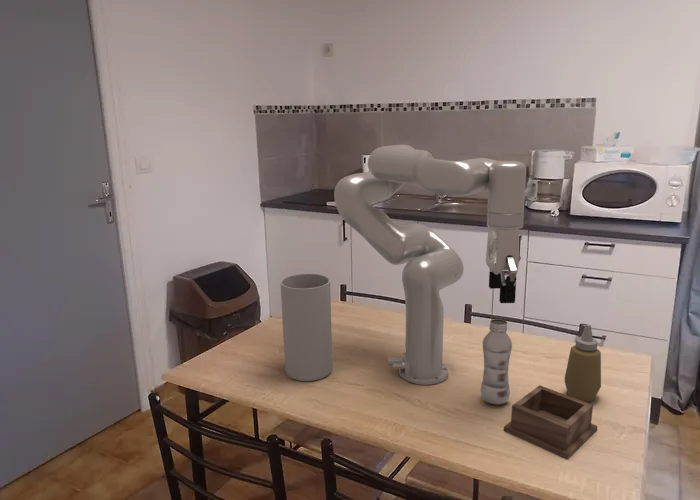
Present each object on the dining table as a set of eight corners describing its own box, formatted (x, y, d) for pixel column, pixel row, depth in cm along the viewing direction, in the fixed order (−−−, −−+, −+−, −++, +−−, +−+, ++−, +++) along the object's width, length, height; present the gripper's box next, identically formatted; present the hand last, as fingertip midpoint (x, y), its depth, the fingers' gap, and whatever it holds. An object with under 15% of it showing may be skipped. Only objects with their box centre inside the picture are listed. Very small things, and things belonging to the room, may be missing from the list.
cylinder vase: (342, 369, 145) (340, 280, 139) (307, 387, 136) (303, 292, 130) (310, 356, 154) (306, 270, 147) (275, 372, 145) (270, 282, 138)
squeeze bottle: (596, 408, 125) (604, 335, 120) (559, 399, 129) (566, 328, 125) (602, 393, 132) (609, 323, 127) (566, 384, 136) (573, 316, 131)
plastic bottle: (510, 409, 125) (515, 328, 120) (479, 407, 126) (483, 326, 121) (508, 395, 131) (513, 317, 126) (479, 393, 133) (483, 315, 127)
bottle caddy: (567, 459, 107) (570, 432, 106) (503, 430, 117) (505, 405, 116) (597, 429, 117) (599, 404, 115) (535, 405, 127) (537, 382, 125)
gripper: (478, 212, 126) (476, 283, 130) (497, 228, 109) (493, 309, 114) (511, 211, 126) (507, 282, 130) (535, 227, 109) (530, 308, 113)
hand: (501, 295), depth 122 cm, fingers open, 9 cm apart
